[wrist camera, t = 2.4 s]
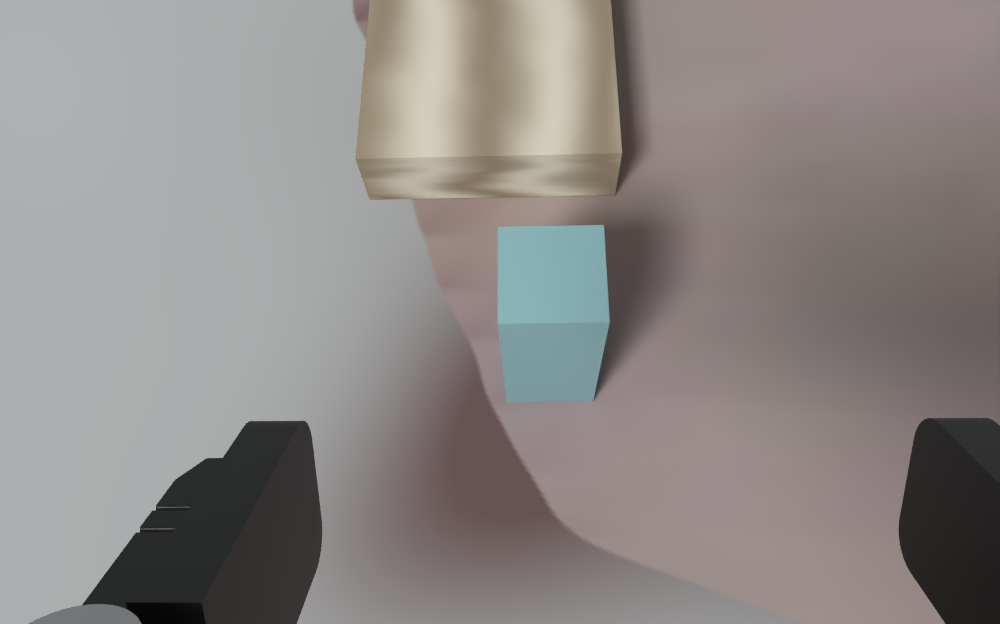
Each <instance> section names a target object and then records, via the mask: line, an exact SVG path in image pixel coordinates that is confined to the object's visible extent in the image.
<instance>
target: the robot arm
mask: <svg viewBox="0 0 1000 624" xmlns="http://www.w3.org/2000/svg"><path fill="white" fill-rule="evenodd" d="M899 539H900V546H901V551H902V554H903V557H904V560H905V563H906V565H907V567H908V569H909V571H910V572H911V574H912V575H913V577H914V578H915V580H916V581H917V583H918V584H919V586H920V587H921V588H922V590H923V591H924V593H925V594H926V596H927V597H928V599H929V600H930V602H931V603H932V605H933V606H934V607H935V609H936V610H937V612H938V613H939V615H940V616H941V618H942V619H943V621H944V622H945V624H1000V426H999V425H998V424H997V423H996V422H994V421H993V420H991V419H989V418H928V419H925V420H923V421H922V422H921V423H920V424H919V426H918V428H917V430H916V433H915V437H914V441H913V447H912V453H911V458H910V464H909V469H908V475H907V480H906V486H905V491H904V497H903V503H902V508H901V514H900V520H899ZM321 543H322V520H321V511H320V502H319V494H318V487H317V478H316V469H315V460H314V452H313V444H312V436H311V432H310V428H309V426H308V424H307V423H306V422H305V421H250V422H248V423H246V425H245V426H244V427H243V429H242V430H241V432H240V433H239V435H238V436H237V438H236V439H235V441H234V442H233V444H232V445H231V447H230V448H229V450H228V451H227V453H226V454H225V456H224V457H223V458H207V459H205V460H204V461H202V462H201V463H199V464H198V465H196V466H195V467H193V468H192V469H191V470H189V471H188V472H186V473H185V474H183V475H182V476H180V477H179V478H177V479H176V480H175V481H174V482H173V484H172V485H171V486H170V488H169V489H168V490H167V492H166V493H165V494H164V496H163V497H162V499H161V500H160V501H159V502H158V504H157V505H156V511H152V512H151V513H150V515H149V516H148V517H147V519H146V520H145V521H144V523H143V524H142V525H141V527H140V533H135V535H134V536H133V538H132V539H131V540H130V541H129V543H128V544H127V546H126V547H125V548H124V549H123V551H122V552H121V554H120V555H119V557H118V558H117V559H116V560H115V562H114V563H113V564H112V566H111V567H110V568H109V570H108V571H107V572H106V574H105V575H104V576H103V578H102V579H101V580H100V582H99V583H98V584H97V586H96V587H95V589H94V590H93V591H92V593H91V594H90V595H89V597H88V598H87V600H86V601H85V602H84V603H83V605H82V606H76V607H71V608H67V609H63V610H60V611H57V612H54V613H51V614H49V615H47V616H44V617H42V618H40V619H37V620H35V621H33V622H31V623H29V624H297V621H298V618H299V615H300V613H301V610H302V608H303V605H304V602H305V599H306V597H307V594H308V591H309V589H310V586H311V583H312V581H313V578H314V575H315V573H316V569H317V566H318V563H319V558H320V552H321Z"/></svg>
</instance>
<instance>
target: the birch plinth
mask: <svg viewBox="0 0 1000 624" xmlns="http://www.w3.org/2000/svg"><path fill="white" fill-rule="evenodd" d="M621 157H622V144H621V131H620V117H619V103H618V90H617V76H616V63H615V49H614V36H613V22H612V8H611V0H370V7H369V18H368V29H367V40H366V51H365V62H364V73H363V84H362V95H361V106H360V117H359V128H358V139H357V151H356V161H357V164H358V167H359V170H360V173H361V176H362V179H363V181H364V184H365V187H366V190H367V193H368V196H369V199H370V200H378V199H379V200H380V199H433V198H484V197H536V196H587V195H615V193H616V187H617V181H618V175H619V169H620V163H621Z"/></svg>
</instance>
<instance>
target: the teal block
mask: <svg viewBox="0 0 1000 624" xmlns="http://www.w3.org/2000/svg"><path fill="white" fill-rule="evenodd" d="M609 323H610V318H609V302H608V285H607V268H606V251H605V235H604V225H576V226H524V227H498V331H499V341H500V350H501V359H502V368H503V378H504V387H505V396H506V402H582V401H593V400H594V395H595V390H596V385H597V381H598V376H599V371H600V366H601V362H602V357H603V352H604V347H605V342H606V338H607V333H608V328H609Z"/></svg>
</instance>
